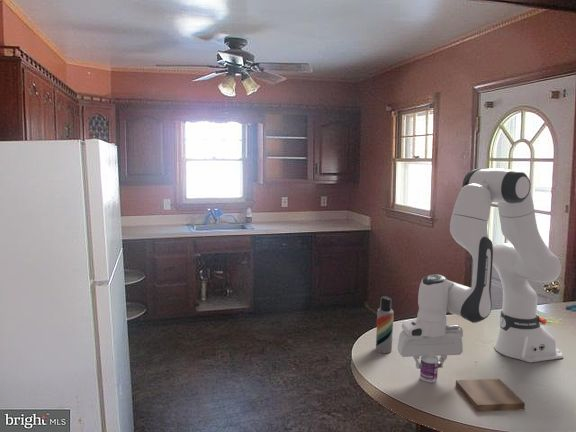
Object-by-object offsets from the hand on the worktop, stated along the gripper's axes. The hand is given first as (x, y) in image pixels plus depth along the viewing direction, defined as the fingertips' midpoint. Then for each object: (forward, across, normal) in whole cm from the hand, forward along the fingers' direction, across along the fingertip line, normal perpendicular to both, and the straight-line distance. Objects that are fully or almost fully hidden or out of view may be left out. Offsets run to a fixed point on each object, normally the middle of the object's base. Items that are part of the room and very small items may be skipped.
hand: (429, 367), depth 152 cm
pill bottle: (+4, 0, 0) cm, 4 cm away
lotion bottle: (+4, +8, -22) cm, 24 cm away
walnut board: (+4, -14, +12) cm, 19 cm away
